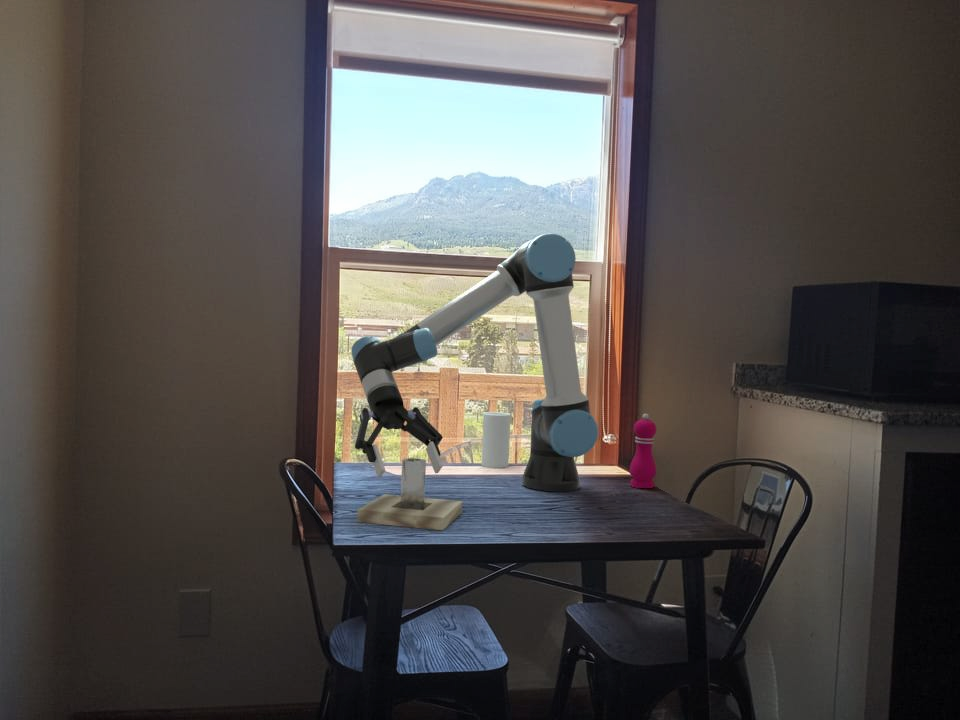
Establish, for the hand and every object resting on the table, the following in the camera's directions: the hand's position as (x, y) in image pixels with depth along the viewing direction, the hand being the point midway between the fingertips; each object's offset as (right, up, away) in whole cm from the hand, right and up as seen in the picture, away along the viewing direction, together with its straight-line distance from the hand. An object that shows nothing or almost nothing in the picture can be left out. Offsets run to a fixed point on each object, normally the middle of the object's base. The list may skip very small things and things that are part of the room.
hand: (411, 471), depth 154 cm
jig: (0, -10, 0) cm, 9 cm away
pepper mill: (+59, -11, +44) cm, 74 cm away
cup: (+19, -9, +69) cm, 72 cm away
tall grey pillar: (0, -10, 0) cm, 10 cm away
